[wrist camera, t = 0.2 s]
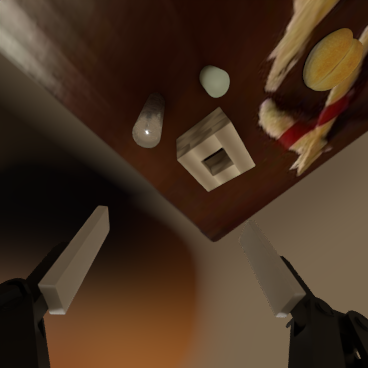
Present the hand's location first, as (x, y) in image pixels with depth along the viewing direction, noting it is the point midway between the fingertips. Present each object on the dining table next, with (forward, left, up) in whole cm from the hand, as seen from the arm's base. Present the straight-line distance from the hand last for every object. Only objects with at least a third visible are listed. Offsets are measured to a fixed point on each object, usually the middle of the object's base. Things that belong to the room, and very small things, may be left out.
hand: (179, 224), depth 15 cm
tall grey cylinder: (+1, -5, -27) cm, 28 cm away
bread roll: (-29, +10, -28) cm, 41 cm away
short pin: (-10, -2, -27) cm, 29 cm away
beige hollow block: (-3, +10, -27) cm, 29 cm away
